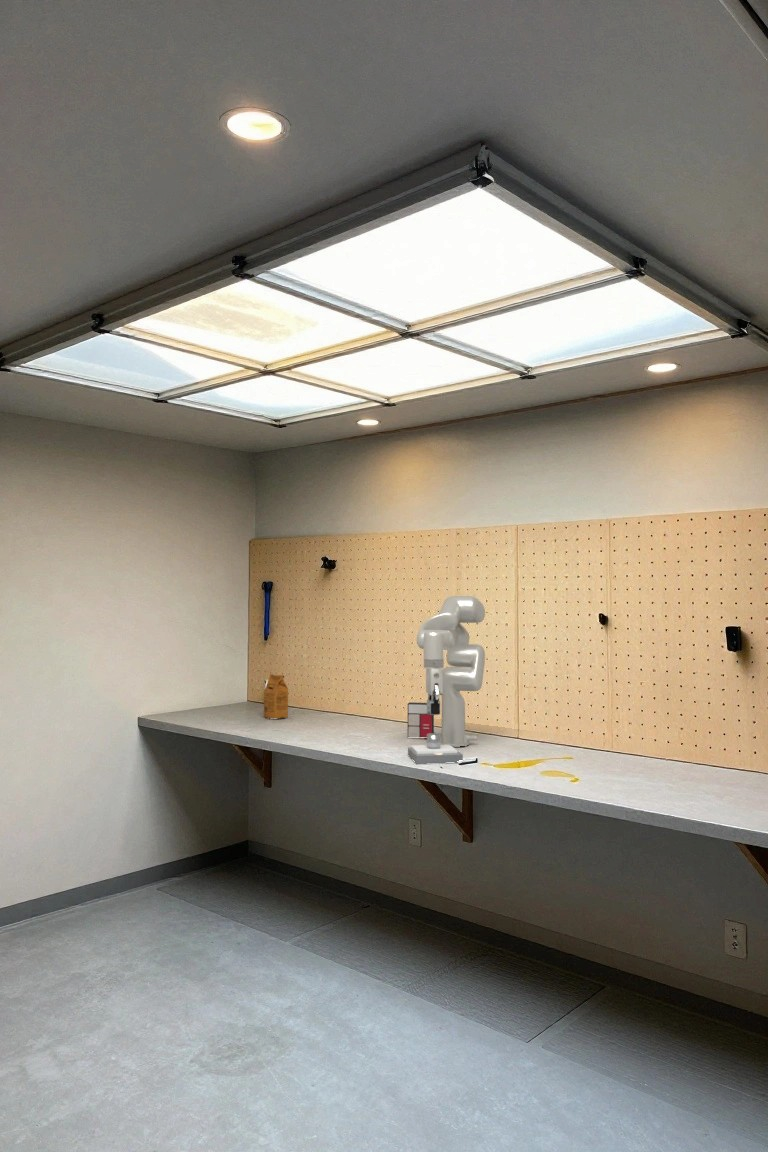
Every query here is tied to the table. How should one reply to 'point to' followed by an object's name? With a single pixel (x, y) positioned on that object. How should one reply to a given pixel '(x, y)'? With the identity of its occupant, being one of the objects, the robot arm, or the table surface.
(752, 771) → the table surface
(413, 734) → the grey and red box
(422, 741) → the table surface
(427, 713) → the spacer
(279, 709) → the coffee package
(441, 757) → the block
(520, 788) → the table surface
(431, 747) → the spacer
